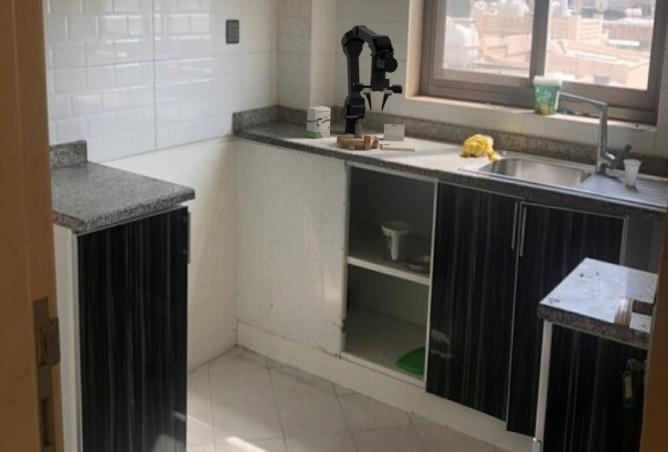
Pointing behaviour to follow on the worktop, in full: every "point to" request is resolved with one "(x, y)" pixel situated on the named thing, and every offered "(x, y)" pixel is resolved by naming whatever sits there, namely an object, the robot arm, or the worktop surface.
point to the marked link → (393, 132)
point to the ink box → (318, 122)
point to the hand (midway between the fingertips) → (376, 110)
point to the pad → (398, 146)
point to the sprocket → (357, 140)
